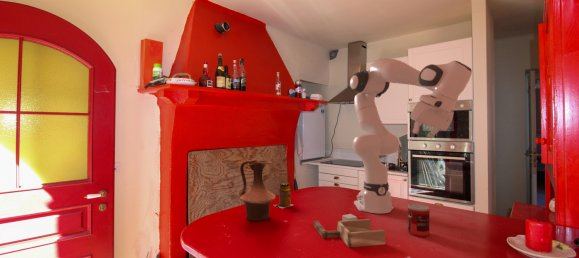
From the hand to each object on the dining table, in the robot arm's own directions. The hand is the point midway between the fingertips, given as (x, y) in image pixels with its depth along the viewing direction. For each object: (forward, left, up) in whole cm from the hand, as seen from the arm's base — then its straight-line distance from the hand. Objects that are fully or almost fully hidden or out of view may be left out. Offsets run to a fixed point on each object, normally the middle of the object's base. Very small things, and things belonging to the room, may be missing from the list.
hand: (421, 135), depth 110 cm
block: (-14, -25, -40) cm, 49 cm away
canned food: (-1, -1, -40) cm, 40 cm away
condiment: (-50, -49, -40) cm, 81 cm away
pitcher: (-33, -64, -40) cm, 82 cm away
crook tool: (-11, -36, -40) cm, 55 cm away
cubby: (-1, -26, -40) cm, 47 cm away
